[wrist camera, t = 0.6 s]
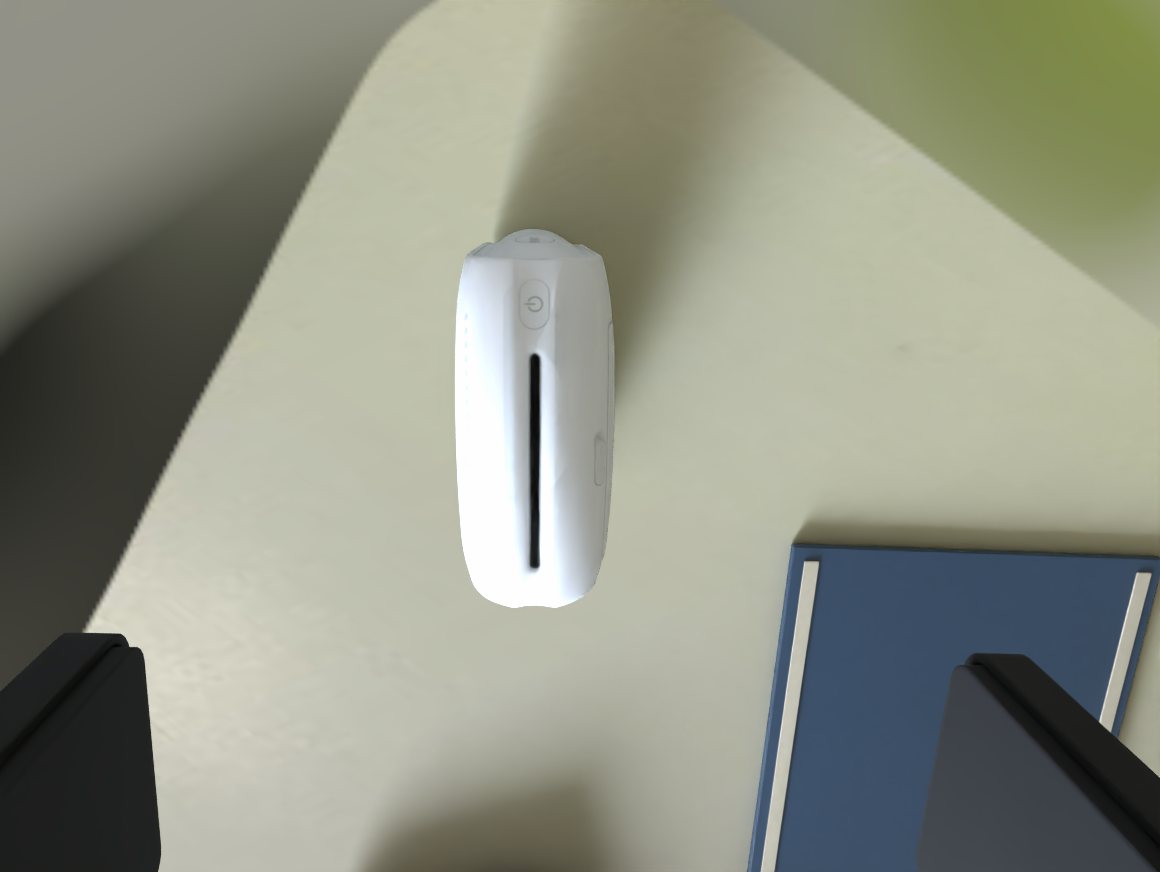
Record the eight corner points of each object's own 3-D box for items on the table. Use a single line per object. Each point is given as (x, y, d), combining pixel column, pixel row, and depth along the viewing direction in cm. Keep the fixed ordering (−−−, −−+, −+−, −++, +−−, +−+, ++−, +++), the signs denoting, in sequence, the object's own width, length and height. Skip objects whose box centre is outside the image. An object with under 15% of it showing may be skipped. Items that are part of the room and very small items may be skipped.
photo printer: (474, 224, 31) (439, 238, 19) (591, 226, 31) (628, 241, 20) (478, 490, 34) (450, 647, 22) (586, 490, 34) (616, 645, 22)
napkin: (791, 542, 35) (795, 547, 35) (1157, 555, 36) (1166, 560, 36) (743, 899, 40) (745, 907, 40) (1069, 901, 41) (1075, 909, 41)
